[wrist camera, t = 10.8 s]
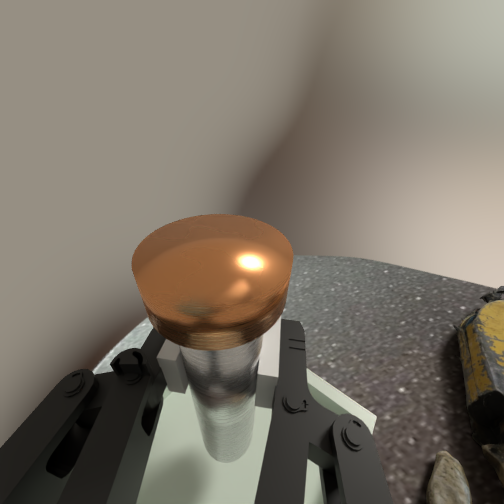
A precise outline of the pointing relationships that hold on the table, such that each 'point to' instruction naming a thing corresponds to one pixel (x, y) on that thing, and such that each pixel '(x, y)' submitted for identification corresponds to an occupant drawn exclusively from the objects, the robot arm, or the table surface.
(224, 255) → the steel pin
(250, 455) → the pale green tray
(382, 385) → the table surface
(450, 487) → the pulley block
